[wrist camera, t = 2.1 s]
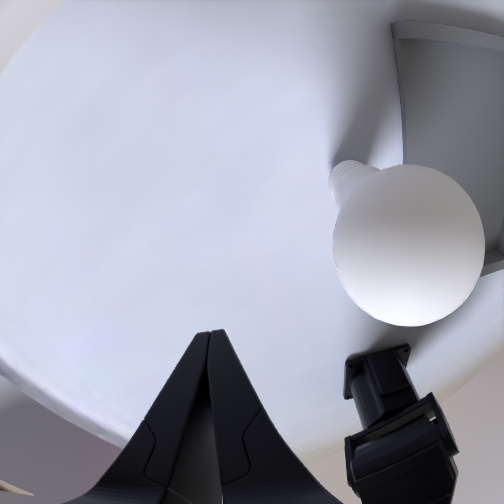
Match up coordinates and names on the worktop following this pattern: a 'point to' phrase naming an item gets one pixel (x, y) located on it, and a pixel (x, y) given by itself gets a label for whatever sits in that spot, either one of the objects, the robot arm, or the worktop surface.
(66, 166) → the worktop surface
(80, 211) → the worktop surface
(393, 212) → the lightbulb
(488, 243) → the tray
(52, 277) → the worktop surface
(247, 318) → the worktop surface
